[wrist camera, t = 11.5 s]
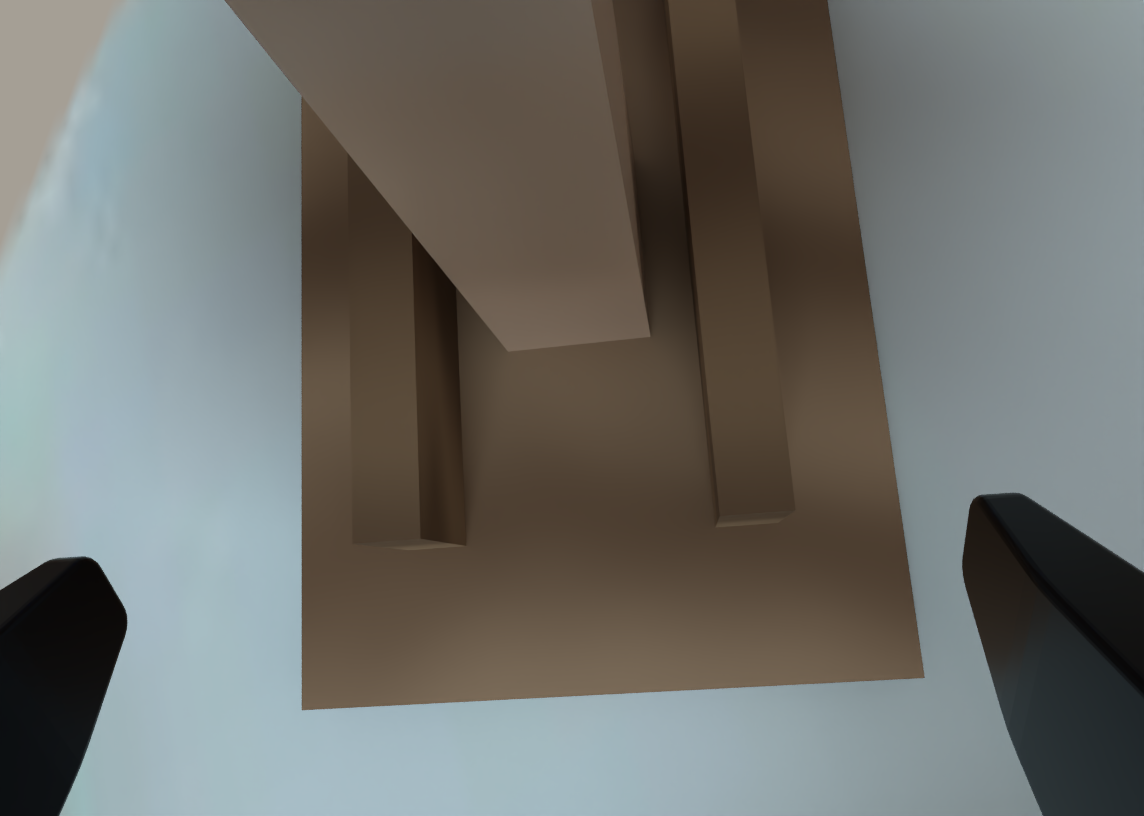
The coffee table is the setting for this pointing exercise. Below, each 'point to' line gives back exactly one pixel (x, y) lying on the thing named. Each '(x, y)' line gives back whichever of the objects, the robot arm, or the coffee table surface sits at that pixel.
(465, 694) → the walnut rack
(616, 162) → the brown rectangular box
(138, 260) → the coffee table surface
